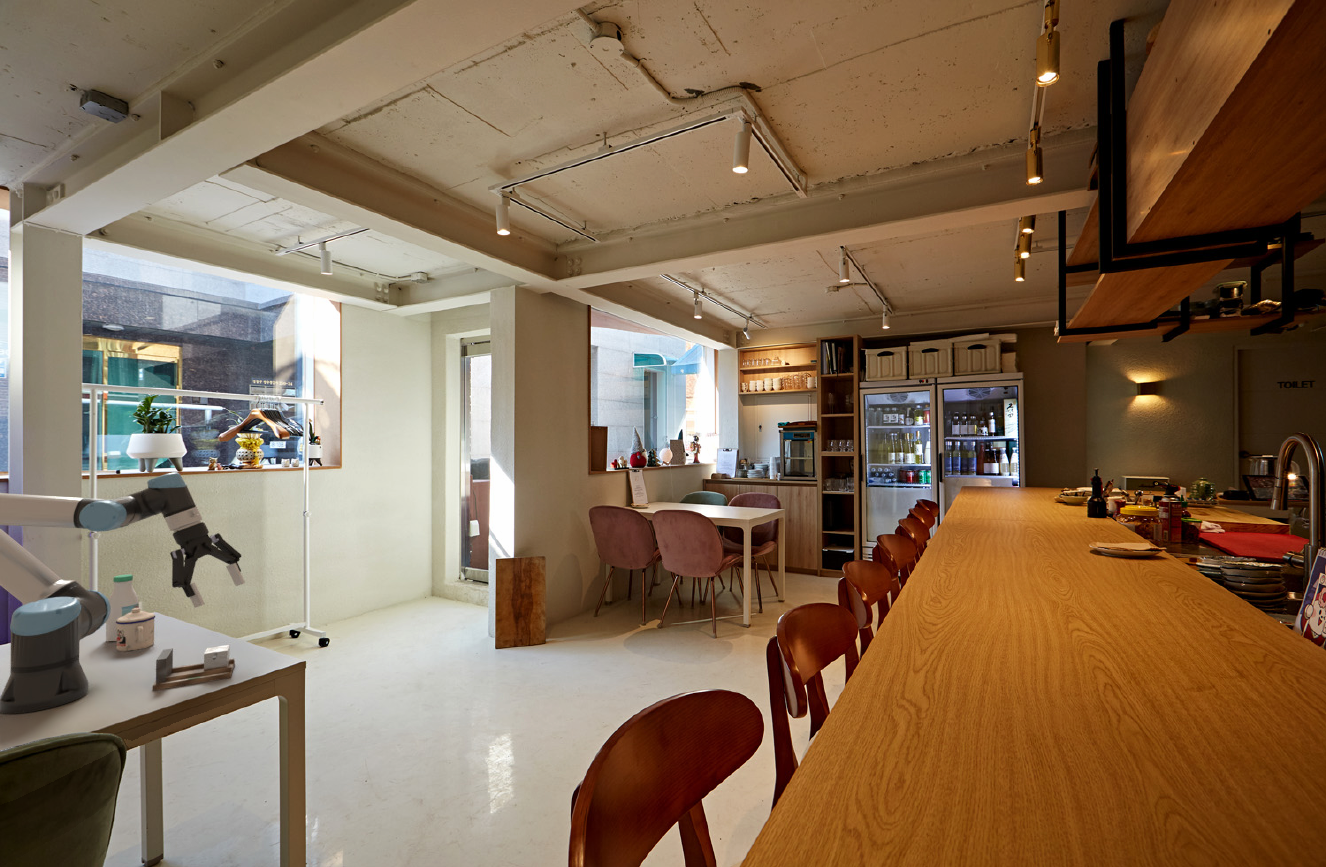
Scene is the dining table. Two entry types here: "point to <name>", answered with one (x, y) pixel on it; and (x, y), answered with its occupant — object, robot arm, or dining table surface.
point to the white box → (216, 657)
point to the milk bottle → (120, 603)
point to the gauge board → (185, 672)
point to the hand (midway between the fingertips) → (221, 594)
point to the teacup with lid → (135, 630)
